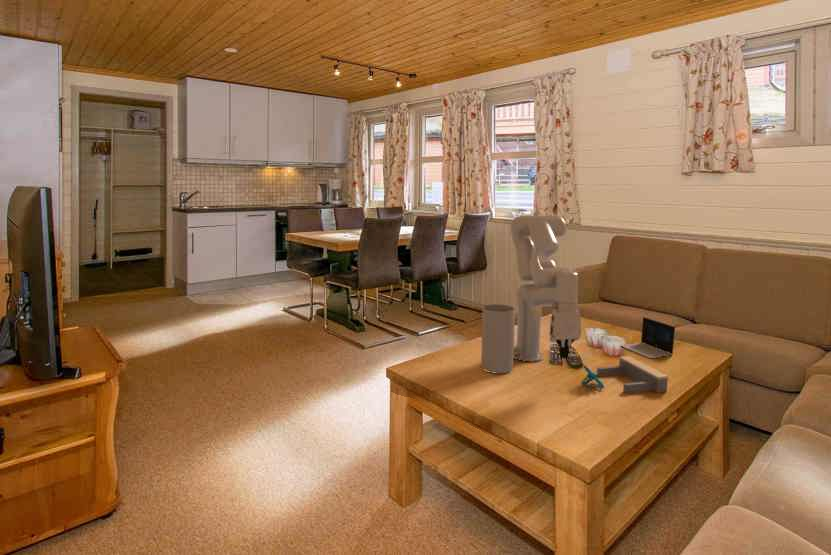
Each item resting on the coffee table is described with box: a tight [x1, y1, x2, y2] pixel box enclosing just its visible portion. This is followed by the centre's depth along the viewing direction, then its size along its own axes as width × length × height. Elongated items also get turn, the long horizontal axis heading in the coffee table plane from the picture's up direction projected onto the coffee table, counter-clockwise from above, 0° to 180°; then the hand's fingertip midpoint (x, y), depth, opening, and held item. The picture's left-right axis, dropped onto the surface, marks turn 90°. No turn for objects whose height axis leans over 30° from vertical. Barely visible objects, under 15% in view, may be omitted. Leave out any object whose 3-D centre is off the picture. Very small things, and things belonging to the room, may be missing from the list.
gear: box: [582, 364, 605, 388], centre depth 186 cm, size 11×6×10 cm
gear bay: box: [596, 355, 669, 394], centre depth 189 cm, size 15×22×6 cm
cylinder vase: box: [480, 303, 516, 374], centre depth 201 cm, size 12×12×25 cm
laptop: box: [625, 316, 676, 359], centre depth 224 cm, size 18×12×13 cm
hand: (563, 356), depth 181 cm, fingers closed
